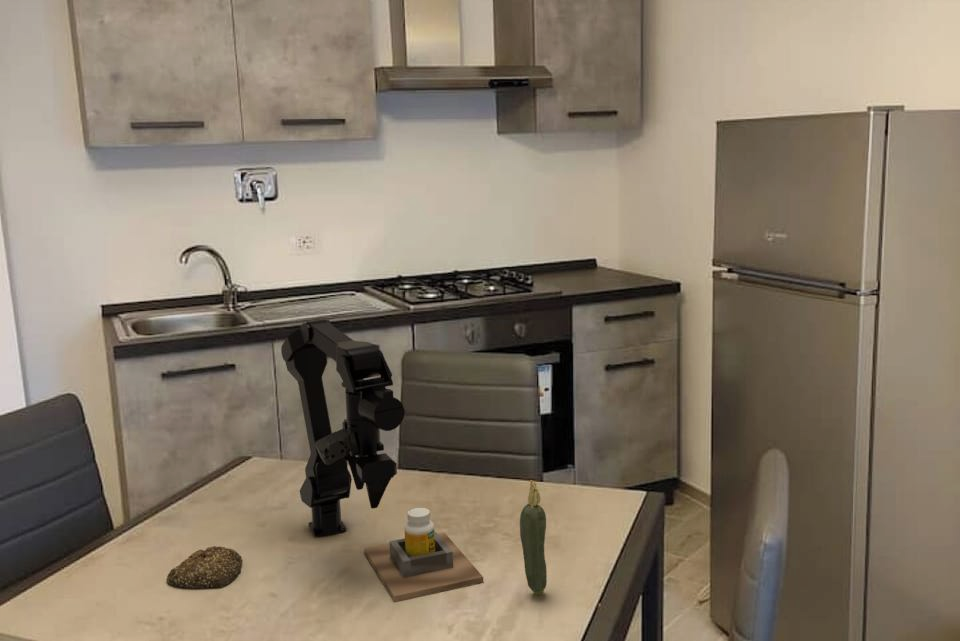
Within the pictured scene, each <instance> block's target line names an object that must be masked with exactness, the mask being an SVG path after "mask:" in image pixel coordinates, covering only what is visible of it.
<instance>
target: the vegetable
mask: <svg viewBox="0 0 960 641" xmlns="http://www.w3.org/2000/svg"><path fill="white" fill-rule="evenodd" d="M529 482H530V485H529V486H530V487H529V492H528V496H527V501H528V502H527V504H526V505H525V506H524V507H523V509H522V510H521V512H520V517H519V535H520V536H519V537H520V542H521V546H522V553H523V554H522V555H523V561H524V562H523V563H524V572H525V577H526V581H527V586H528V588H529V589H530V590H531V592H533V593H534V594H535V595H536V596H537V595H538V594H543V593H544V591H545V589H546V588H547V579H548V578H547V577H548V574H547V563H546V556H545V540H546V531H547V530H546V529H547V516H546V515H547V514H546V512H545V510H544V508H543V507H542V506H541V505H540V503H541V495H540V492H539V488H538V487H537V484H536V482H535V481H534V480H532V479H530V480H529Z"/></svg>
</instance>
